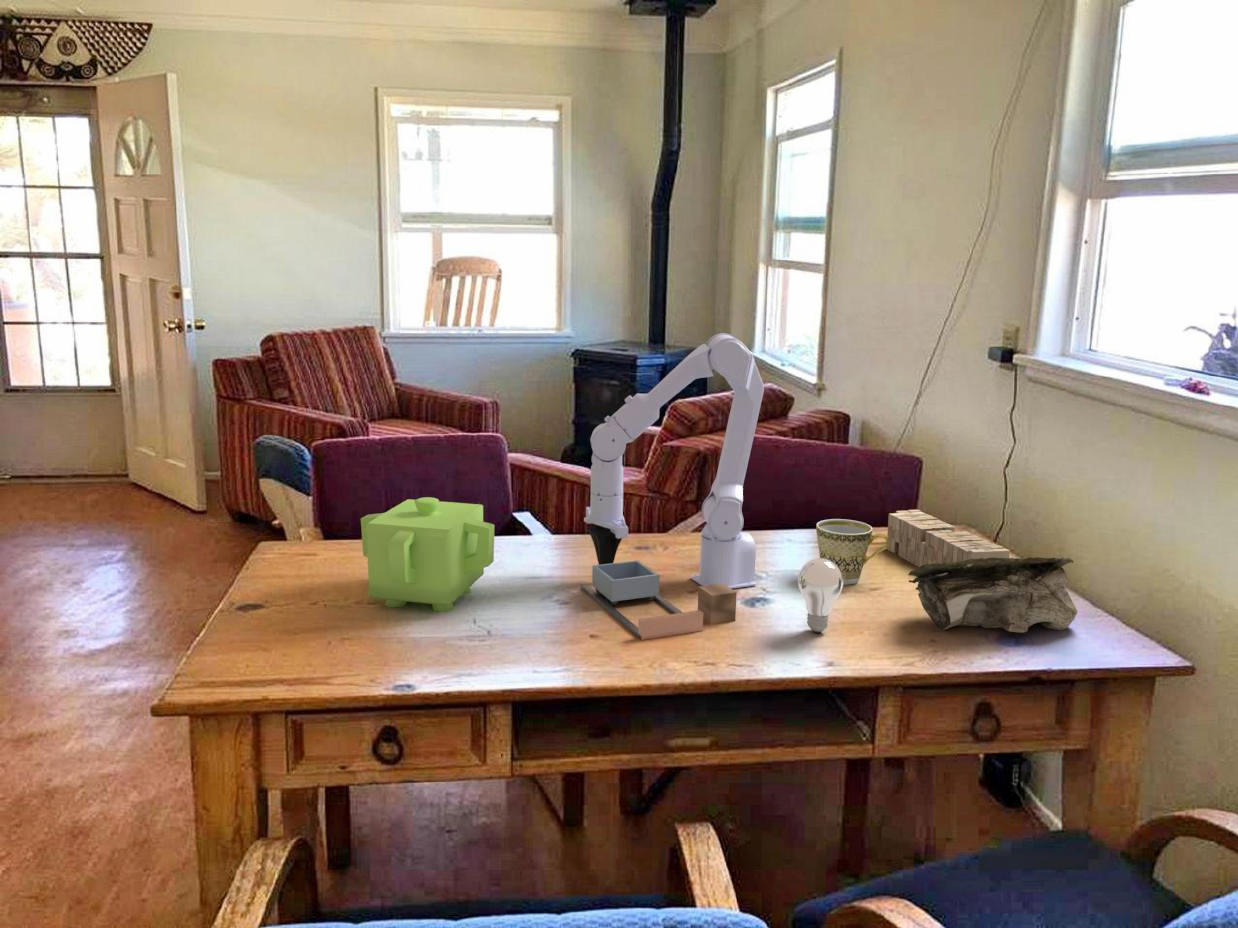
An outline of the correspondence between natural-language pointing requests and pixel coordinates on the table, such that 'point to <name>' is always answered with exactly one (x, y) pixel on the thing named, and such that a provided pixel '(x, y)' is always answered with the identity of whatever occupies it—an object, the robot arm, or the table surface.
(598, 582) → the grey open tray bin
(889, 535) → the block tower
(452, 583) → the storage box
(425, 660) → the table surface
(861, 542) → the ceramic cup
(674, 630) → the rails
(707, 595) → the walnut block
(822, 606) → the light bulb
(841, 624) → the table surface
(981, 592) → the driftwood chunk
